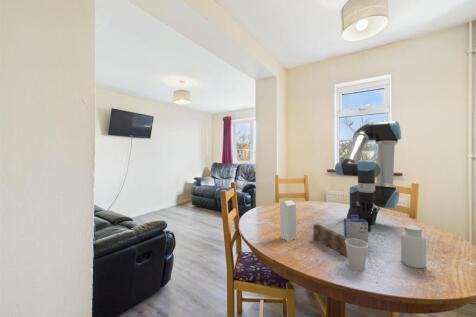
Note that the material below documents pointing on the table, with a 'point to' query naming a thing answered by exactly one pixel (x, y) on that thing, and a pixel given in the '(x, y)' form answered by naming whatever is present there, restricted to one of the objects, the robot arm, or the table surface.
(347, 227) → the ink cartridge box
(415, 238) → the pill bottle
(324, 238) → the walnut board
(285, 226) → the milk
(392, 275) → the table surface
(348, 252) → the dixie cup
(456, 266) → the table surface
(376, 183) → the robot arm
